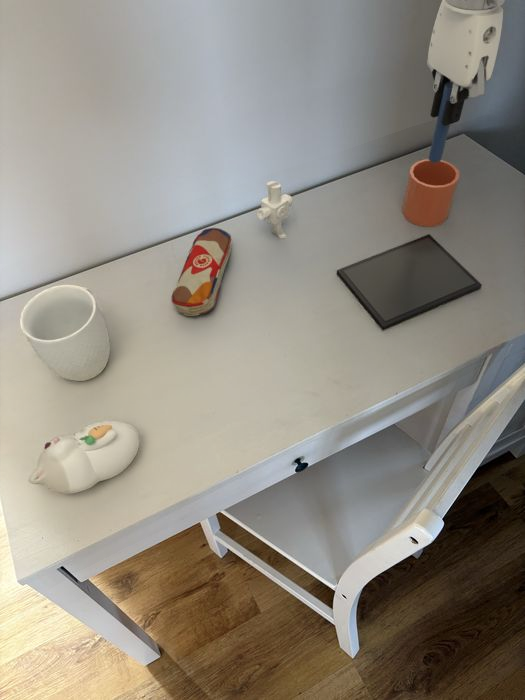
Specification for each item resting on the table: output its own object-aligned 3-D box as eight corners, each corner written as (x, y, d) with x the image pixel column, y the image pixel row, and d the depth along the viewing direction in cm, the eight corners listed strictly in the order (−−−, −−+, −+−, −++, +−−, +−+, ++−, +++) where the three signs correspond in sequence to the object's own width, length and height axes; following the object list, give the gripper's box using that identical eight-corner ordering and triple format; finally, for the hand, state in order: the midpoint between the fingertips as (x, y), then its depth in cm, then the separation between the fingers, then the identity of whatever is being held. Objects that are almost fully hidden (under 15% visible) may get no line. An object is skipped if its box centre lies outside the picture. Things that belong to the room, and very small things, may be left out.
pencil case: (152, 307, 94) (145, 288, 90) (205, 238, 104) (201, 217, 100) (207, 326, 91) (203, 306, 87) (256, 252, 101) (254, 232, 97)
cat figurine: (129, 403, 71) (13, 452, 66) (154, 458, 71) (39, 513, 65) (124, 410, 80) (21, 454, 74) (146, 460, 79) (44, 508, 74)
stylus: (436, 153, 95) (453, 80, 84) (443, 160, 93) (462, 86, 83) (425, 157, 94) (442, 83, 84) (433, 163, 93) (450, 90, 83)
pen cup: (430, 193, 109) (439, 153, 102) (457, 217, 104) (469, 178, 97) (393, 206, 107) (400, 167, 100) (419, 232, 102) (429, 192, 95)
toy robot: (254, 241, 103) (250, 188, 94) (282, 221, 106) (281, 169, 97) (268, 250, 101) (265, 198, 92) (297, 230, 104) (297, 178, 95)
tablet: (428, 238, 101) (429, 233, 100) (480, 288, 93) (482, 284, 92) (336, 273, 97) (336, 269, 96) (382, 330, 88) (383, 326, 87)
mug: (69, 320, 93) (40, 265, 83) (131, 321, 92) (110, 266, 82) (43, 392, 84) (7, 341, 74) (111, 394, 83) (84, 342, 73)
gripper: (538, 5, 70) (495, 135, 84) (459, -32, 79) (433, 91, 93) (491, 19, 68) (456, 149, 83) (416, -21, 77) (397, 103, 92)
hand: (444, 117), depth 88 cm, fingers closed on stylus, 2 cm apart
